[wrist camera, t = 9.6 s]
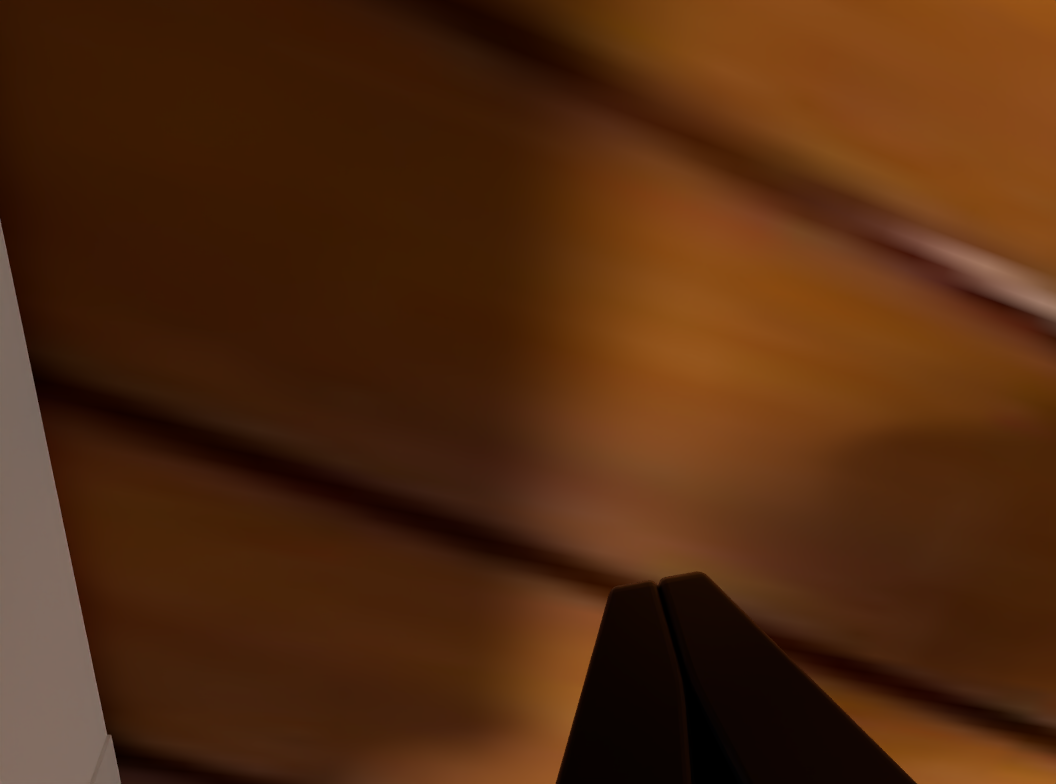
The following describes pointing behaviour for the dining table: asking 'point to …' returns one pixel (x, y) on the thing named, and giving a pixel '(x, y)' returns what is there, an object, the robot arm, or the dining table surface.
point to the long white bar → (39, 596)
